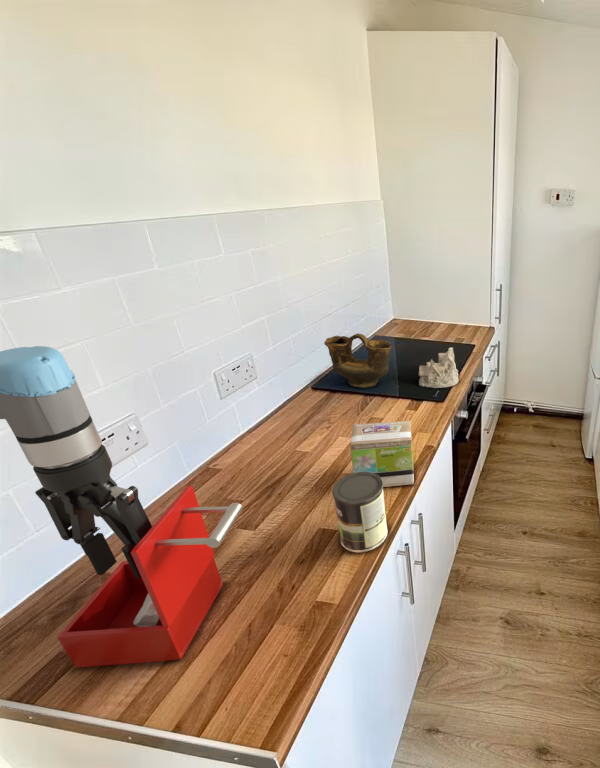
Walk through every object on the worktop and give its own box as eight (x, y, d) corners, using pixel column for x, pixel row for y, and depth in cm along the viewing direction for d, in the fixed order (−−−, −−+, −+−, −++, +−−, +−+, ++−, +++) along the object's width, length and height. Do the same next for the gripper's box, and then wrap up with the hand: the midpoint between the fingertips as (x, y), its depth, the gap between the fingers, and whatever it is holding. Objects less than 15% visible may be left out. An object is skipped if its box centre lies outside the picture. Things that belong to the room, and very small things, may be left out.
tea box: (355, 492, 111) (348, 444, 104) (357, 468, 119) (351, 423, 113) (414, 485, 114) (412, 438, 108) (413, 462, 123) (410, 418, 117)
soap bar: (184, 623, 74) (143, 625, 70) (165, 637, 76) (124, 640, 72) (192, 565, 80) (155, 564, 76) (173, 580, 82) (137, 579, 78)
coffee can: (341, 558, 92) (332, 507, 86) (340, 524, 101) (332, 476, 94) (390, 546, 95) (385, 497, 89) (385, 515, 104) (380, 467, 98)
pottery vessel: (324, 385, 163) (317, 336, 154) (337, 374, 173) (331, 326, 164) (389, 391, 162) (385, 341, 153) (398, 379, 171) (395, 331, 163)
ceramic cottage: (460, 371, 181) (458, 337, 174) (456, 390, 166) (453, 354, 159) (423, 371, 181) (419, 338, 174) (416, 390, 166) (411, 355, 159)
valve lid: (130, 552, 61) (205, 549, 62) (187, 485, 74) (248, 484, 75) (163, 627, 68) (230, 623, 69) (210, 554, 81) (265, 552, 82)
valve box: (76, 668, 70) (56, 637, 66) (136, 590, 83) (122, 561, 79) (181, 659, 72) (167, 629, 68) (223, 584, 85) (213, 556, 81)
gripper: (153, 443, 64) (197, 556, 74) (33, 435, 65) (92, 547, 75) (108, 475, 57) (162, 593, 68) (-25, 465, 58) (48, 584, 68)
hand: (125, 569), depth 71 cm, fingers open, 6 cm apart
